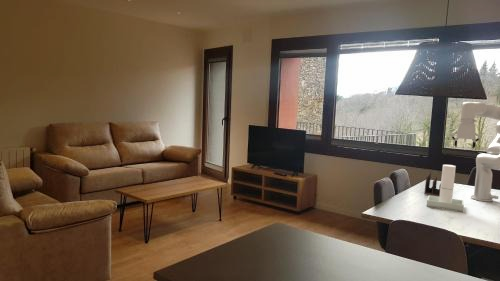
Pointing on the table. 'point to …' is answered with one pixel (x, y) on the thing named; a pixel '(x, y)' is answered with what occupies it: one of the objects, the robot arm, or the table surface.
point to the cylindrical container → (447, 183)
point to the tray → (445, 204)
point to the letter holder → (432, 190)
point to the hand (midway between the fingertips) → (464, 147)
